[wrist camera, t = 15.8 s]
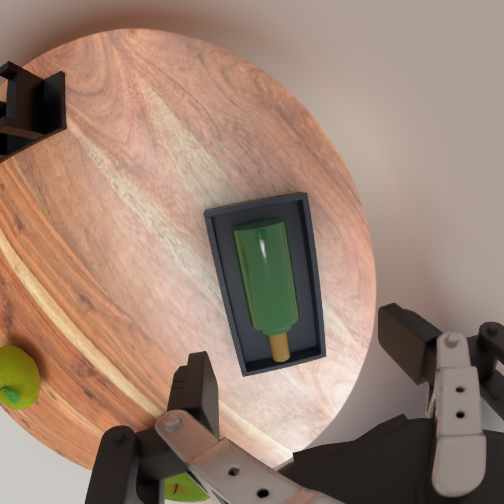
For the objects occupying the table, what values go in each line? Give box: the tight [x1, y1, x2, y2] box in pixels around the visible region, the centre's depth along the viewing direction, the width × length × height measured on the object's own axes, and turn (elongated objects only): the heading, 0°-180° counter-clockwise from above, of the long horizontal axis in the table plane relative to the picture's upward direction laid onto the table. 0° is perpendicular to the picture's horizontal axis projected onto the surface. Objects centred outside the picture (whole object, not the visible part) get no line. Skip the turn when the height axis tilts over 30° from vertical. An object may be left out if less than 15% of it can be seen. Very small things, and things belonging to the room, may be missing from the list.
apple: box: [165, 473, 211, 502], centre depth 30 cm, size 12×12×11 cm
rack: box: [0, 61, 66, 163], centre depth 19 cm, size 14×8×9 cm, turn 101°
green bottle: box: [231, 218, 300, 362], centre depth 28 cm, size 15×5×5 cm, turn 11°
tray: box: [204, 192, 326, 377], centre depth 30 cm, size 19×10×3 cm, turn 11°
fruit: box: [0, 345, 40, 410], centre depth 25 cm, size 9×9×10 cm
